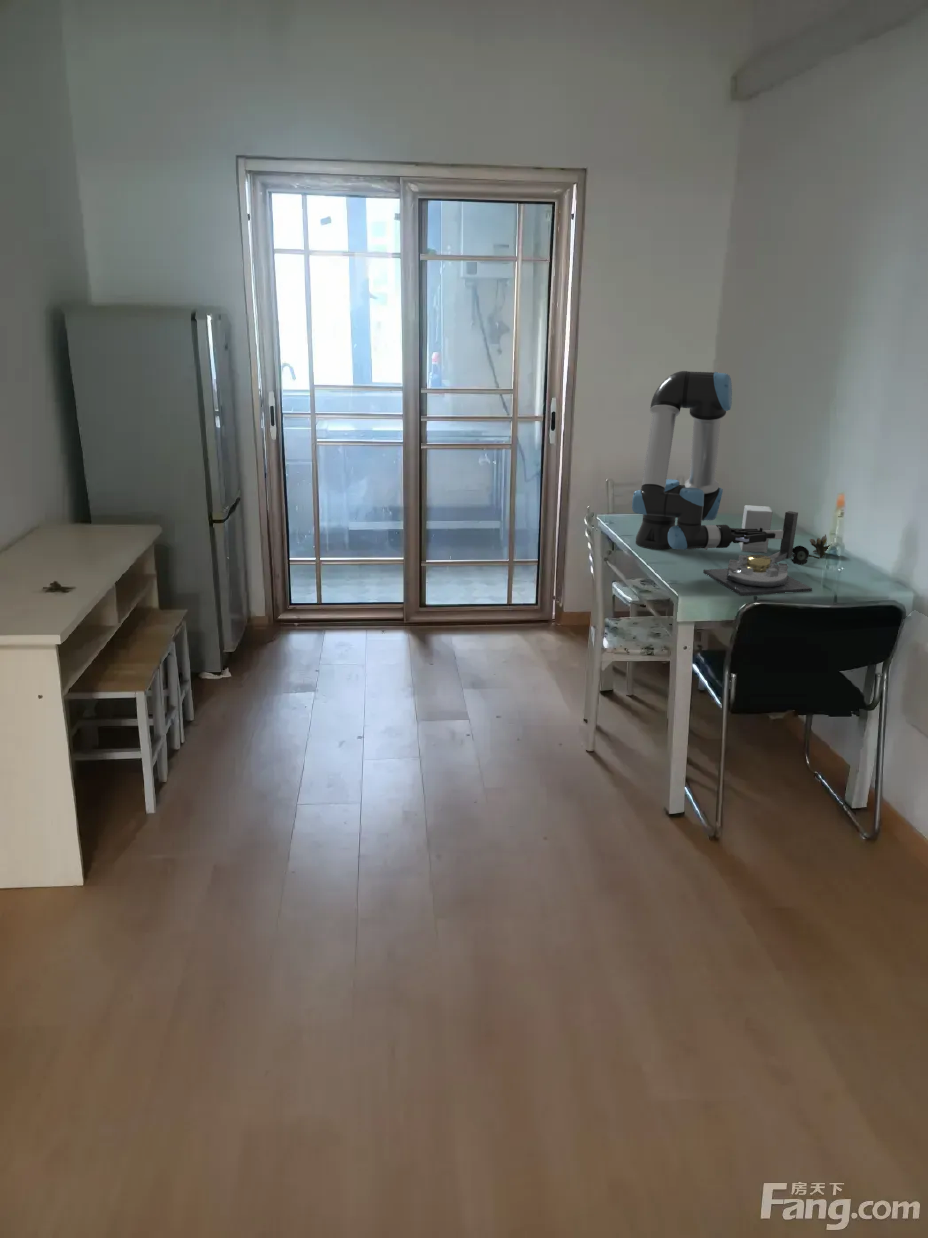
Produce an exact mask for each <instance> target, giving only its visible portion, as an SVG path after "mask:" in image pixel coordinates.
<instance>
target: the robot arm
mask: <svg viewBox="0 0 928 1238" xmlns="http://www.w3.org/2000/svg"><path fill="white" fill-rule="evenodd" d="M732 383H733V382H732V378H731V376H730V375H729V374H728V373H726V372H725V373H724V372H718V371H714V372H712V371H710V372H709V371H687V370H680V371H677V372H673V373H672V374H670V375H668V376H667V377H666V378H665V379H664V380H663V381H662V382H661V383H660V384H659V386H658V387H657V388H656V390H655V392H654V394H653V396H652V399H651V402H650V409H649V412H650V413H651V414H652V417H651V422H650V428H649V435H648V443H647V449H646V455H645V461H644V468H643V474H642V481H641V488H640V489H637V490H635V491H633V494H632V501H631V502H632V503H631V510H632V512H633V513H634V514H638V515H642V522H641V524H640V527H639V529H638V532H637V534H636V537H635V545H637V546H639V547H642V548H647V549H653V550H669V549H670V550H671V549H674V550H684V551H686V550H698V549H702V550H703V549H704V550H705V551H707V550H708V549H715V548H716V549H726V548H729V546H730V545H731V544H732V543H733V544H740V542H743V544H749V543H756V542H765V541H766V540H767V539H769V540H782V538H783V529H770V530H763V528H760V530H758V529H742V527H741V528H740V527H739V528H738V527H736V528H734V527H730V526H729V525H728V524H705V525H704V524H702V521H714V520H715V519H716V518H717V516H718V513H719V508H720V505H721V500H722V497H723V492H724V489H723V488H722V487H720V483H719V481H718V480H717V479H716V475H717V473H716V471H717V461H718V452H719V451H718V450H719V440H720V438H719V437H720V427H721V419H723V418H724V417H725V416H726V414H727V411H728V412H729V411H730V410H731V409H732V404H733V403H732V402H733V401H732V400H733V398H732V397H733V388H732V387H733V385H732ZM681 409H689V415H690V417H692V418H693V425H692V436H691V437H692V439H691V452H690V453H691V454H690V465H689V466H690V467H689V478H687V479H686V480H685V482H684V484H680V483H681V482H680V481H679V480H678V479H673V478H668V472H669V465H670V460H671V459H670V458H671V452H672V446H673V438H674V432H675V425H676V419H677V417H678V416H680V414H681ZM667 478H668V479H667ZM676 518H677V520H676ZM676 521H677V522H676ZM762 530H763V532H762Z"/></svg>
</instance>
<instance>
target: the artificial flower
mask: <svg viewBox="0 0 928 1238" xmlns="http://www.w3.org/2000/svg"><path fill="white" fill-rule="evenodd" d="M808 541H809V543H810V545H811V546H813V547H814V549H815V550H813V551H812V553H815V552H817V554H818V556H819V557H818V556H815V555H812V554H809V553H810V552H809V549H808V548H807V547H805V546H802V545H797V546H793V551H792V557H790V558H789V559H790V560H791V562H792V563H793V564H794V565H801V566H803V565H804V564H807V563H808V559H809V558H810V557H811V558H814V559H819V558H821V559H822V558H823V557H824V556H825V553H826V552H827V551H828V550H827V549H828V547H829V546H830V545H831V544H828V545H826V543H827V541H828V538H827V534H824V535H823V536H822V537H821V538H820V537H817V538H816V540H815V539H814V538H810V539H809V540H808ZM819 560H820V559H819Z"/></svg>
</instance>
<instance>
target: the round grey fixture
mask: <svg viewBox="0 0 928 1238" xmlns="http://www.w3.org/2000/svg"><path fill="white" fill-rule="evenodd" d="M798 517H799V512H797V511H791V510H789V511H785V513H784V520H783V525H782V526H783V527H782V530H783V538H782V539H780V540H781V541H780V548H779V551H778V552H775V553H773V554H771V555H768V557H770V558H771V561H770V568H769V569H766V571H754V570H753V567H748V566H746V564H747V557H748V555H747V554H744V555H738V559H731V558H730V559H729V561H728V565H727V569H728V571H727V577H728V578H729V579H731V580H733V581H735V582H738V583H742V584H746V585H752V586H762V587H771V586H779V585H783V584H785V583H786V580H787V576H788V568H789V566H788V563H781V562H782V561H784V560H787V559H791V558H793V557H792V553H793V552H792V551H793V548H794V546H795V545H794V544H795V539H796V538H795V537H796V536H795V535H796V529H797V524H798ZM790 557H791V558H790Z"/></svg>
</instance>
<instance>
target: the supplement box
mask: <svg viewBox="0 0 928 1238" xmlns="http://www.w3.org/2000/svg"><path fill="white" fill-rule="evenodd" d="M743 508H744V509H743V514H742V515H743V516H742V522H741V523H742V524H741V528H742V529H758V530H760V528H763V530H771V526H772V519H773V510H772V508H771V507H770V506H765V505H763V506H761V505H749V504H748V505H747V504H746V505H744V506H743ZM763 530H762V532H763ZM769 540H770V539H767V540H766V541H765V542H756V543H749V544H743V542H739V548H740V549H741V550H740V551H741V552H752V553H765V554H766V553H768V546H769Z"/></svg>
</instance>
